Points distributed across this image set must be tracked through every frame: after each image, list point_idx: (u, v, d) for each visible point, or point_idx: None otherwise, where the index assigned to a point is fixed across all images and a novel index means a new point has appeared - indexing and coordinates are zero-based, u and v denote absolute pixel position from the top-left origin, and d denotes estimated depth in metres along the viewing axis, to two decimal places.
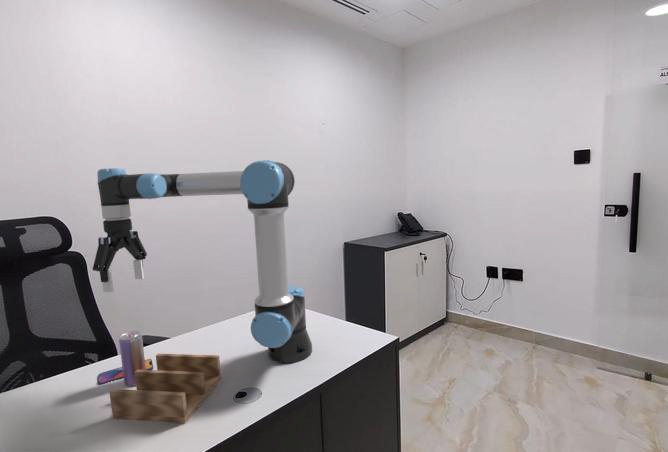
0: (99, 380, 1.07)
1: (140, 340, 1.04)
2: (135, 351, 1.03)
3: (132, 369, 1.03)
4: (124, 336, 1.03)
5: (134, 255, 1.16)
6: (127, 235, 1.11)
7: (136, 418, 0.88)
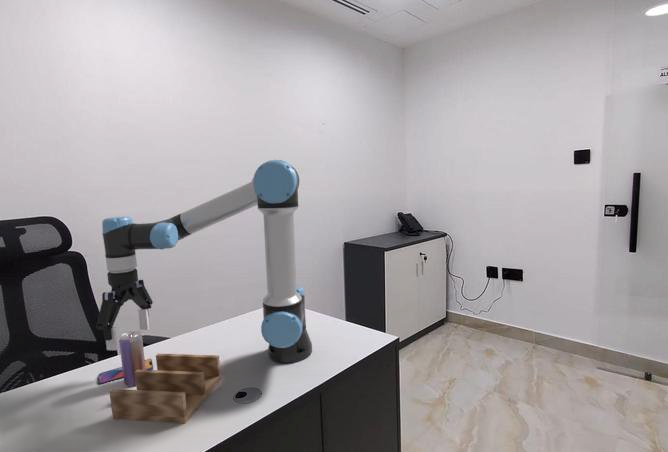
0: (99, 380, 1.07)
1: (140, 340, 1.04)
2: (135, 351, 1.03)
3: (132, 369, 1.03)
4: (124, 336, 1.03)
5: (139, 305, 1.09)
6: (132, 286, 1.04)
7: (136, 418, 0.88)
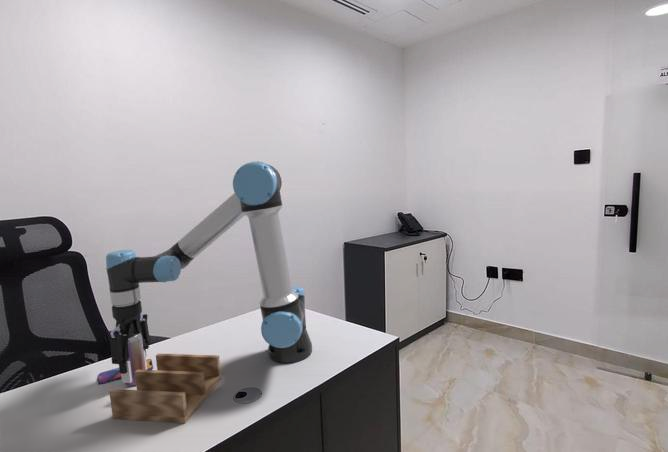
0: (98, 380, 1.07)
1: (140, 340, 1.04)
2: (135, 351, 1.03)
3: (132, 369, 1.03)
4: None
5: None
6: (137, 316, 1.06)
7: (136, 418, 0.88)
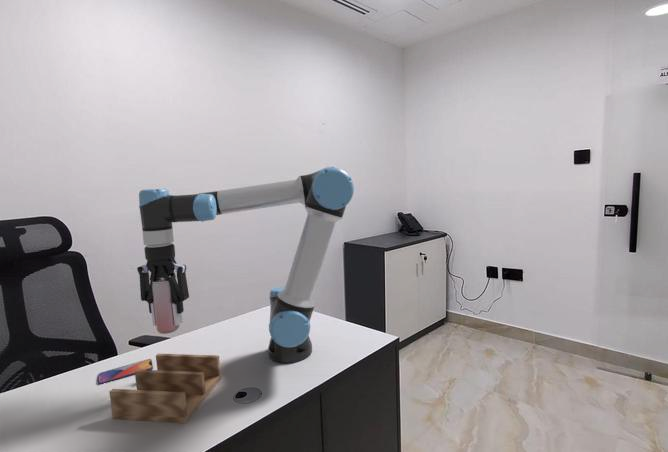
0: (98, 380, 1.07)
1: (158, 289, 0.95)
2: (153, 297, 0.96)
3: None
4: (162, 278, 0.99)
5: None
6: (166, 264, 0.96)
7: (136, 418, 0.88)
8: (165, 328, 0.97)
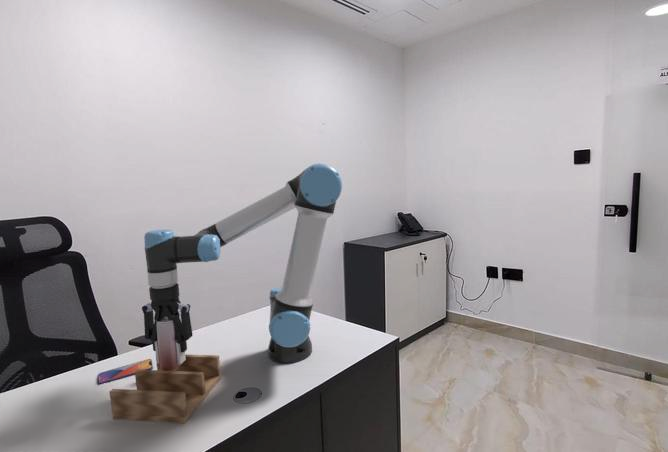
0: (98, 380, 1.07)
1: (162, 328, 0.97)
2: (157, 336, 0.98)
3: None
4: (166, 317, 1.01)
5: None
6: (170, 304, 0.97)
7: (136, 418, 0.88)
8: (169, 366, 0.98)
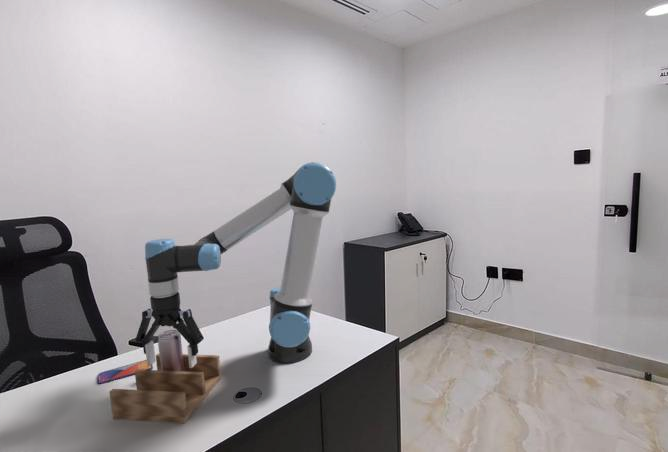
0: (98, 380, 1.07)
1: (164, 344, 0.97)
2: (159, 352, 0.98)
3: None
4: (168, 332, 1.01)
5: None
6: (171, 314, 0.98)
7: (136, 418, 0.88)
8: None
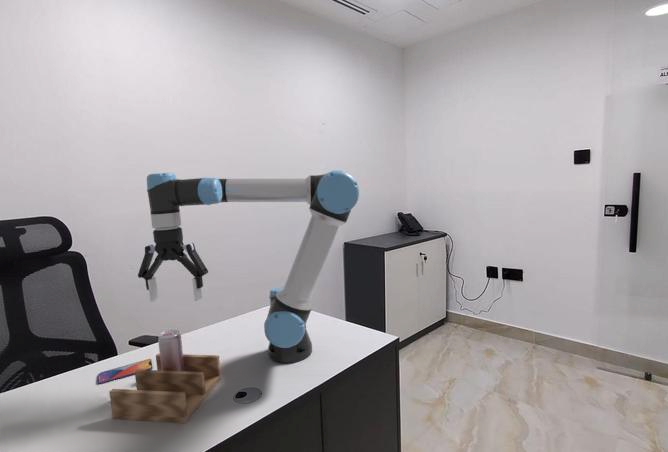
0: (98, 380, 1.07)
1: (164, 344, 0.97)
2: (160, 352, 0.99)
3: (161, 367, 1.00)
4: (168, 332, 1.01)
5: None
6: (174, 247, 0.98)
7: (136, 418, 0.88)
8: None
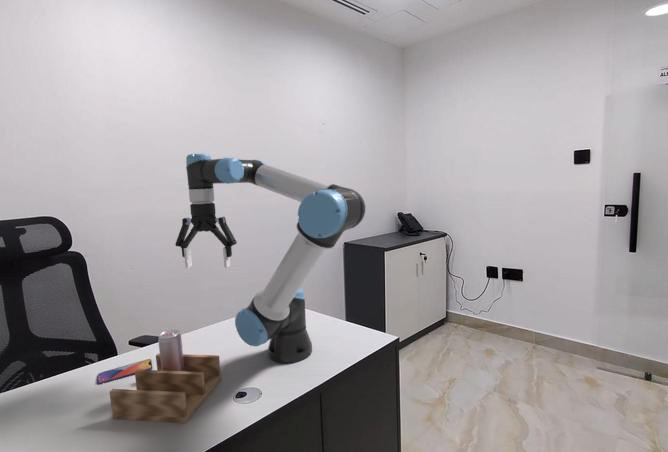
0: (98, 380, 1.07)
1: (164, 344, 0.97)
2: (160, 352, 0.99)
3: (161, 367, 1.00)
4: (168, 332, 1.01)
5: None
6: (208, 220, 1.12)
7: (136, 418, 0.88)
8: None
